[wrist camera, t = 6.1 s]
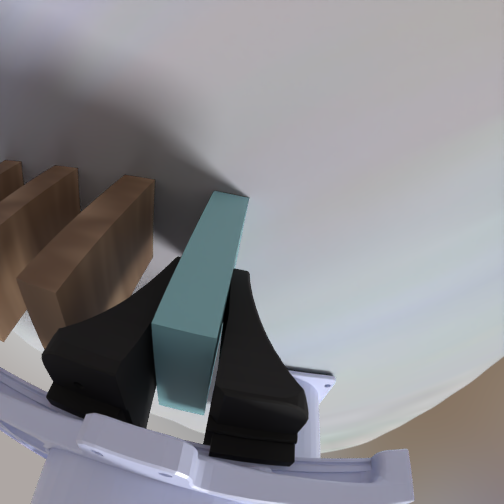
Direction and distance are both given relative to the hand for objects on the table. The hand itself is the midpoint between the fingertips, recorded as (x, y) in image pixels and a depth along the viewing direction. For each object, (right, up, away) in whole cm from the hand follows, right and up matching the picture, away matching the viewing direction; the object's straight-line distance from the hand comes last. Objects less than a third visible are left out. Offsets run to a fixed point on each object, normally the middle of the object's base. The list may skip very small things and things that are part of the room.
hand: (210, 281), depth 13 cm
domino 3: (-9, +4, +3) cm, 11 cm away
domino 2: (-5, +3, +3) cm, 6 cm away
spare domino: (0, +2, +3) cm, 4 cm away
